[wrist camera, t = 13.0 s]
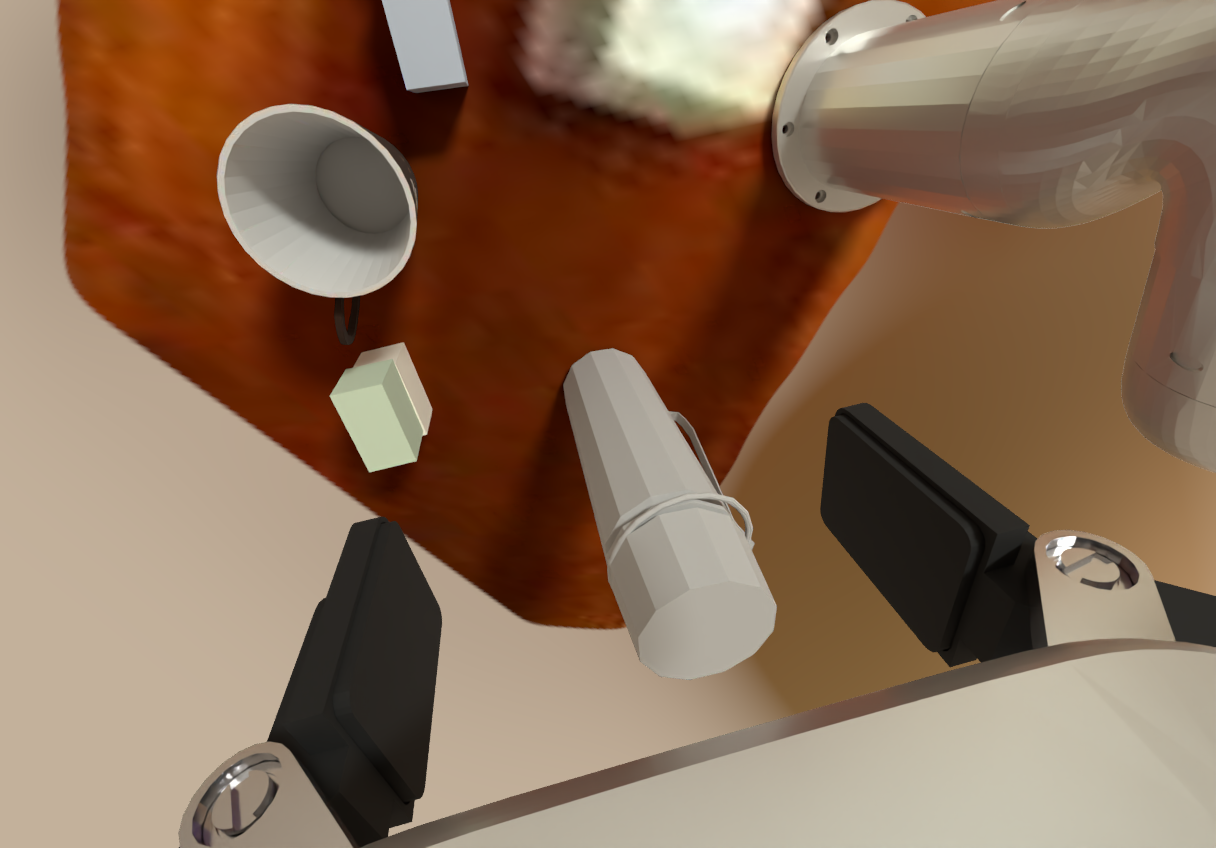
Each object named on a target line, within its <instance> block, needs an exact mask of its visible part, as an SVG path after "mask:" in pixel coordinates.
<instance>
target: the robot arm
mask: <svg viewBox="0 0 1216 848" xmlns="http://www.w3.org/2000/svg"><path fill="white" fill-rule="evenodd" d="M826 35H827V41H826V39H825V37H826ZM783 126H785V131H784V132H782V129H783ZM771 138H772V148H773V155H774V159H775V162H776V166H777V169H778V172H779V174H780V176H781V178H782V180H783V182H784V184H785V185H786V186H787V188H788V189H789V190H790V191H791V192H792V193H793V195H794V196H795V197H797V198H798V199H799V200H801V201H802V202H804V203H805V204H807V205H809V206H812V207H814V208H817V209H820V210H825V211H829V212H849V211H854V210H859V209H862V208H864V207H867V206H869V205H872V204H874V203H876V202H877V201H879V200H881V199H882V198H883V199H888V200H893V201H897V202H902V203H907V204H912V205H918V206H922V207H927V208H932V209H937V210H941V211H946V212H951V213H956V214H961V215H966V216H971V217H976V218H981V219H987V220H992V221H997V222H1001V223H1007V224H1012V225H1017V226H1022V227H1030V228H1061V227H1067V226H1073V225H1079V224H1083V223H1087V222H1090V221H1093V220H1096V219H1099V218H1102V217H1105V216H1107V215H1110V214H1112V213H1115V212H1117V211H1120V210H1122V209H1125V208H1127V207H1129V206H1131V205H1133V204H1135V203H1137V202H1139V201H1141V200H1143V199H1145V198H1147V197H1149V196H1151V195H1153V194H1155V193H1157V192H1159V191H1161V190H1162V192H1163V208H1162V213H1161V217H1160V222H1159V227H1158V231H1157V235H1156V239H1155V253H1154V256H1153V260H1152V264H1151V268H1150V271H1149V275H1148V278H1147V282H1146V285H1145V289H1144V293H1143V296H1142V300H1141V303H1140V307H1139V310H1138V314H1137V317H1136V322H1135V325H1134V329H1133V332H1132V335H1131V339H1130V343H1129V347H1128V350H1127V354H1126V358H1125V363H1124V369H1123V374H1122V380H1121V392H1122V400H1123V405H1124V408H1125V411H1126V413H1127V415H1128V418H1129V419H1130V421H1131V422H1132V424H1133V425H1134V426H1135V427H1136V428H1137V430H1138V431H1139V432H1140V433H1141V434H1142V435H1143V436H1144V437H1145V438H1146V439H1148V440H1149V441H1150V442H1151V443H1153V444H1154V445H1156V446H1157V447H1159V448H1160V449H1162V450H1164V451H1165V452H1167V453H1169V454H1170V455H1172V456H1174V457H1176V458H1178V459H1180V460H1183V461H1185V462H1187V463H1190V464H1192V465H1195V466H1197V467H1200V468H1203V469H1205V470H1208V471H1211V472H1214V473H1216V0H997V1H993V2H989V3H984V4H980V5H976V6H972V7H968V8H963V9H959V10H955V11H951V12H946V13H942V14H938V15H934V16H930V17H925V15H924V14H923V13H922V12H921V11H919V10H917V9H916V8H914V7H912V6H911V5H909V4H907V3H904V2H900V1H896V0H872V1H868V2H864V3H861V4H857V5H855V6H852V7H850V8H848V9H845V10H843V11H840V12H839V13H837V14H836V15H834V16H833V17H831V18H830V19H828V20H827V21H826V22H824V23H823V24H822V25H821V26H820V27H819V28H818V29H817V30H816V31H815V32H814V33H813V34H812V35H810V36H809V37H808V39H807V40H806V41H805V43H804V44H803V45H802V47H801V48H800V49H799V51H798V52H797V53H796V55H795V56H794V58H793V60H792V62H791V64H790V66H789V67H788V69H787V71H786V73H785V75H784V77H783V80H782V83H781V86H780V88H779V91H778V94H777V97H776V102H775V107H774V111H773V116H772V133H771ZM816 194H817V196H816ZM815 196H816V197H815ZM821 516H822V519H823V521H824V523H825V525H826V526H827V527H828V529H829V530H830V531H831V532H832V534H833V535H834V536H835V537H836V538H837V540H838V541H839V542H840V543H841V545H842V546H843V547H844V548H845V549H846V551H847V552H848V553H849V554H850V556H851V557H852V558H853V559H854V561H855V562H856V563H857V564H858V565H859V567H860V568H861V569H862V570H863V571H864V573H865V574H866V575H867V576H868V577H869V579H870V580H871V581H872V583H873V584H874V585H875V586H876V587H877V589H878V590H879V591H880V592H881V594H882V595H883V596H884V597H885V598H886V600H887V601H888V602H889V603H890V604H891V606H892V607H893V608H894V609H895V611H896V612H897V613H898V614H899V615H900V617H901V618H902V619H903V620H904V622H905V623H906V624H907V625H908V627H909V628H910V629H911V630H912V631H913V632H914V634H915V635H916V636H917V638H918V639H919V640H920V641H921V642H922V644H923V645H924V646H925V647H926V648H927V649H928V650H930V651H932V652H938V653H939V655H940V656H941V657H942V658H943V659H944V661H945V662H946V663H947V664H948V665H949V667H953V666H956V665H959V664H963V663H967V662H970V661H974V660H976V659H977V658H978V659H979V661H980V662H981V663H978V664H974V665H971V666H967V667H963V668H959V669H955V670H951V671H947V672H944V673H940V674H937V675H933V676H929V677H926V678H923V679H919V680H915V681H912V682H908V683H905V684H902V685H897V686H894V687H890V688H887V689H884V690H880V691H876V692H873V693H869V694H866V695H862V696H858V697H855V698H851V699H848V700H844V701H841V702H837V703H834V704H830V705H827V706H823V707H819V708H816V709H812V710H809V711H805V712H802V713H798V714H795V715H791V716H788V717H784V718H781V719H778V720H774V721H771V722H767V723H763V724H760V725H757V726H753V727H750V728H746V729H743V730H739V731H736V732H732V733H729V734H725V735H722V736H718V737H715V738H711V739H708V740H705V741H701V742H698V743H694V744H691V745H687V746H684V747H680V748H677V749H673V750H670V751H666V752H663V753H659V754H656V755H653V756H649V757H646V758H642V759H639V760H635V761H632V762H629V763H625V764H622V765H618V766H615V767H612V768H608V769H605V770H601V771H598V772H595V773H591V774H588V775H584V776H581V777H577V778H574V779H571V780H568V781H564V782H561V783H557V784H554V785H550V786H547V787H543V788H540V789H536V790H533V791H530V792H526V793H523V794H520V795H516V796H513V797H509V798H506V799H503V800H500V801H497V802H493V803H490V804H487V805H484V806H481V807H478V808H474V809H471V810H468V811H465V812H462V813H458V814H455V815H452V816H449V817H445V818H442V819H439V820H436V821H433V822H429V823H426V824H423V825H420V826H417V827H414V828H412V829H408V830H406V831H403V832H400V833H398V834H395V835H392V836H389V837H388V832H389V828H392V827H395V826H399V825H402V824H406V823H409V822H412V818H413V808H414V801H415V800H416V799H420V798H421V797H422V795H423V793H424V788H425V781H426V771H427V762H428V753H429V742H430V733H431V723H432V714H433V704H434V695H435V685H436V675H437V666H438V656H439V647H440V637H441V627H442V616H441V611H440V607H439V605H438V603H437V601H436V599H435V597H434V595H433V593H432V591H431V589H430V587H429V585H428V583H427V581H426V578H425V577H424V575H423V572H422V571H421V569H420V566H419V565H418V563H417V560H416V558H415V556H414V554H413V552H412V551H411V548H410V547H409V544H408V542H407V540H406V538H405V536H404V534H403V532H402V530H401V528H400V526H399V525H398V523H397V522H396V521H393V522H389V521H388V520H387V519H386V518H385V517H378V518H374V519H370V520H366V521H362V522H357V523H354V524H353V525H352V527H351V529H350V531H349V534H348V537H347V540H346V543H345V545H344V548H343V551H342V554H341V557H340V560H339V563H338V565H337V568H336V571H335V574H334V577H333V580H332V582H331V585H330V588H329V591H328V594H327V597H326V598H324V599H323V600H322V601H320V602H319V604H318V606H317V608H316V610H315V612H314V615H313V618H312V620H311V623H310V626H309V629H308V631H307V634H306V636H305V639H304V642H303V645H302V648H301V650H300V653H299V656H298V658H297V661H296V664H295V667H294V669H293V672H292V675H291V678H290V681H289V683H288V686H287V688H286V691H285V694H284V697H283V700H282V702H281V705H280V708H279V710H278V713H277V716H276V719H275V721H274V724H273V727H272V730H271V732H270V735H269V738H268V740H267V742H265V743H259V744H255V745H253V746H250V747H248V748H246V749H244V750H242V751H239V752H238V753H237V754H235V755H234V756H232V757H231V758H229V759H228V760H227V761H225V762H224V763H222V764H221V765H220V766H219V767H218V768H217V769H216V770H215V771H214V772H213V773H212V774H211V775H210V776H209V777H208V778H207V779H206V780H205V781H204V782H203V784H202V785H201V787H200V788H199V789H198V790H197V792H196V793H195V794H194V796H193V797H192V799H191V801H190V803H189V805H188V807H187V809H186V811H185V813H184V815H183V818H182V821H181V825H180V829H179V842H180V847H179V848H1216V596H1213V595H1209V594H1205V593H1201V592H1197V591H1194V590H1190V589H1186V588H1182V587H1178V586H1174V585H1171V584H1167V583H1163V582H1159V581H1155V580H1154V579H1153V576H1152V574H1151V573H1150V571H1149V569H1148V568H1147V566H1146V564H1145V563H1144V562H1143V561H1141V560H1140V559H1139V558H1138V557H1137V556H1136V555H1135V554H1134V553H1132V552H1131V551H1129V550H1127V549H1126V548H1124V547H1122V546H1121V545H1119V544H1117V543H1115V542H1113V541H1110V540H1108V539H1105V538H1103V537H1101V536H1097V535H1093V534H1090V533H1086V532H1081V531H1072V530H1058V531H1051V532H1048V533H1046V534H1043V535H1041V536H1040V537H1039V538H1038V539H1037V538H1036V537H1035V536H1033V535H1032V534H1031V533H1029V532H1028V529H1029V525H1028V524H1027V523H1026V522H1024V521H1023V520H1022V519H1020V518H1019V517H1018V516H1016V515H1015V514H1014V513H1012V512H1011V511H1010V510H1009V509H1007V508H1006V507H1004V506H1003V505H1002V504H1001V503H999V502H998V501H996V500H995V499H994V498H993V497H991V496H990V495H989V494H987V493H986V492H985V491H983V490H982V489H981V488H979V487H978V486H977V485H975V484H974V483H973V482H972V481H970V480H969V479H968V478H966V477H965V476H964V475H962V474H961V473H960V472H958V471H957V470H956V469H954V468H953V467H952V466H950V465H949V464H948V463H947V462H945V461H944V460H943V459H941V458H940V457H939V456H937V455H936V454H935V453H933V452H932V451H930V450H929V449H928V448H927V447H925V446H924V445H923V444H921V443H920V442H919V441H917V440H916V439H915V438H914V437H912V436H911V435H910V434H908V433H906V431H904V430H903V429H901V428H900V427H899V426H898V425H896V424H895V423H894V422H892V421H891V420H890V419H888V418H887V417H886V416H884V415H883V414H882V413H880V412H879V411H878V410H877V409H875V408H874V407H873V406H871V405H870V404H867V403H861V404H857V405H852V406H848V407H845V408H840V409H838V410H837V412H836V414H835V417H832V418H831V419H830V421H829V427H828V437H827V448H826V458H825V468H824V478H823V488H822V498H821Z"/></svg>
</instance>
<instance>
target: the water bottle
mask: <svg viewBox="0 0 1216 848" xmlns="http://www.w3.org/2000/svg"><path fill="white" fill-rule="evenodd" d="M563 387H564V394H565V401H566V406H567V410H568V414H569V418H570V422H571V426H572V430H573V434H574V438H575V441H576V445H577V449H578V453H579V457H580V461H581V465H582V469H583V473H584V477H585V481H586V484H587V488H588V492H589V496H590V500H591V504H592V508H593V512H594V516H595V520H596V523H597V527H598V531H599V535H600V539H601V543H602V547H603V551H604V555H605V559H606V562H607V566H608V569H607V572H608V581H609V583H610V585H611V588H612V590H613V592H614V595H615V598H616V600H617V603H618V605H619V608H620V610H621V613H622V616H623V618H624V621H625V623H626V626H627V629H628V631H629V634H630V636H631V639H632V641H633V644H634V647H635V649H636V652H637V655H638V657H639V660H640V662H642V663H643V664H644V665H645V666H647V667H648V668H649V669H651V670H652V671H653V672H654V673H656V674H657V675H658V676H660V677H668V678H677V679H686V680H692V679H696V678H700V677H705V676H708V675H713V674H717V673H721V672H724V671H726V670H728V669H730V668H731V667H733V666H735V665H736V664H738V663H740V662H742V661H743V660H745V659H747V658H748V657H750V656H752V655H753V654H754V653H755V652H756V651H757V650H758V649H759V647H760V646H761V645H762V644H763V643H764V641H765V640H766V639H767V638H768V637H769V635H770V634H771V633H772V632H773V631H774V624H775V615H776V609H777V606H776V603H775V601H774V599H773V596H772V594H771V592H770V590H769V588H768V585H767V583H766V581H765V579H764V577H763V574H762V572H761V570H760V568H759V566H758V564H757V561H756V559H755V557H754V555H753V552H752V549H753V546H754V544H755V543H754V542H753V541H752V540H751V536H752V532H753V526H752V523H751V519H750V516H749V513H748V511H747V510H746V509H745V508H744V507H743V506H742V505H741V504H740V503H738V502H737V501H736V500H735V499H734V498H732V497H728V496H724V495H723V494H722V491H721V489H720V487H719V484H718V482H717V480H716V478H715V475H714V473H713V471H712V469H711V466H710V464H709V462H708V460H707V457H706V455H705V453H704V451H703V448H702V446H701V444H700V442H699V439H698V437H697V435H696V433H695V430H694V428H693V427H692V426H691V425H690V423H689V422H688V421H687V420H686V418H685V417H683V416H682V415H681V414H680V413H679V412H671V411H669V412H668V410H667V408H666V407H665V405H664V403H663V402H662V400H661V398H660V397H659V395H658V393H657V392H656V390H655V388H654V387H653V385H652V383H651V382H650V380H649V378H648V377H647V375H646V373H645V372H644V370H643V369H642V368H641V366H640V365H639V364H638V362H637V361H636V360H635V358H634V357H633V356H632V355H629V354H626V353H624V352H621V351H618V350H616V349H613V348H612V349H605V350H599V351H593V352H589V353H588V354H587V355H585V356H584V357H583V358H581V359H580V360H579V361H577V362H576V363H575V364H573V365H572V366H571V368H570V371H569V373H568V375H567V377H566V380H565V382H564V384H563ZM674 421H676V422H677V423H679V424H680V425H681V426H682V427H683V429H684V430H685V431H686V433H687V434H688V435H689V437H690V439H691V441H692V443H693V446H694V448H695V450H696V452H697V455H698V457H699V459H700V462H701V464H702V466H703V468H704V470H703V468H702V467H701V465H700V463H699V462H698V460H697V458H696V457H695V455H694V453H693V452H692V450H691V448H690V447H689V445H688V443H687V442H686V440H685V438H684V437H683V435H682V433H681V432H680V430H679V428H678V427H677V425H676V423H675V422H674ZM727 503H728V504H730V505H731V506H732V507H734V508H736V510H737V511H738V512H739V513H740V514H741V516H742V517H743V519H744V522H745V528H746V529H745V532H744V531H743V530H742V529H741V528H740V527H739V526H738V524H737V523H736V522H735V521H734V519H733V516H732V514H731V512H730V509H729V507H728V505H727Z"/></svg>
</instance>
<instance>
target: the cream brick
mask: <svg viewBox="0 0 1216 848" xmlns="http://www.w3.org/2000/svg"><path fill="white" fill-rule="evenodd" d="M389 359H393V361H394V363H395V366H396V368H397V370H398V373H399V375H400V377H401V380H402V382H403V384H404V387H405V389H406V391H407V394H408V396H409V398H410V401H411V403H412V405H413V408H414V410H415V412H416V415H417V417H418V420H419V422H420V424H421V427H422V429H423V435H427V432H428V427H429V423H430V418H431V413H432V407H431V405H430V403H429V400H428V398H427V396H426V393H425V391H424V389H423V386H422V384H421V381H420V379H419V377H418V374H417V372H416V370H415V367H414V365H413V363H412V360H411V358H410V356H409V353H408V351H407V349H406V346H405V344H404V342H403V343H399V344H395V345H391V346H386V347H382V348H378V349H374V350H370V351H366V352H362V353H361V354H360V356H359V358H358V359H357V361H356V363H355V365H354V366H353V368H354V367H358V366H363V365H367V364H372V363H376V362H380V361H385V360H389ZM423 435H422V436H423Z"/></svg>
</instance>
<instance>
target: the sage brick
mask: <svg viewBox="0 0 1216 848" xmlns="http://www.w3.org/2000/svg"><path fill="white" fill-rule="evenodd" d="M330 398H331V400H332V402H333V404H334V405H335V407H336V409H337V411H338V413H339V415H340V417H341V419H342V421H343V423H344V425H345V427H346V428H347V430H348V432H349V434H350V436H351V438H352V440H353V442H354V444H355V446H356V448H357V450H358V452H359V453H360V455H361V457H362V459H363V461H364V463H365V465H366V467H367V469H368V471H369V472H373V471H377V470H381V469H386V468H390V467H394V466H398V465H402V464H406V463H411V462H415V461H417V457H418V452H419V448H420V444H421V439H422V435H423V429H422V427H421V424H420V422H419V420H418V417H417V415H416V412H415V410H414V408H413V405H412V403H411V401H410V398H409V396H408V394H407V391H406V389H405V387H404V384H403V382H402V380H401V377H400V375H399V373H398V370H397V368H396V366H395V363H394V361H393V359H389V360H385V361H380V362H376V363H372V364H367V365H363V366H358V367H354V368H349V369H345V371H344V373H343V375H342V376H341V378H340V380H339V381H338V383H337V385H336V386H335V388H334V390H333V391H332V393H331V395H330Z"/></svg>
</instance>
